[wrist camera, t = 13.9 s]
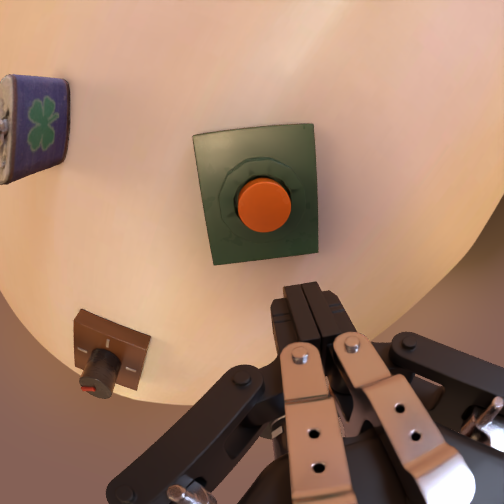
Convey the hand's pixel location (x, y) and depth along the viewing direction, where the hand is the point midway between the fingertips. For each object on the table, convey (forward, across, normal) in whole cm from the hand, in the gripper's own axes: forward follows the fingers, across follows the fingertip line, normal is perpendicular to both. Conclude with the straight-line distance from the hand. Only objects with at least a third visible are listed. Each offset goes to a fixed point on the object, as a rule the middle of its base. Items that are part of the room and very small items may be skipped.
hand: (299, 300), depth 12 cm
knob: (+13, +23, +16) cm, 31 cm away
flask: (+16, +19, -13) cm, 28 cm away
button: (+12, 0, -1) cm, 12 cm away
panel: (+16, +23, +16) cm, 32 cm away
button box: (+15, 0, -2) cm, 15 cm away
